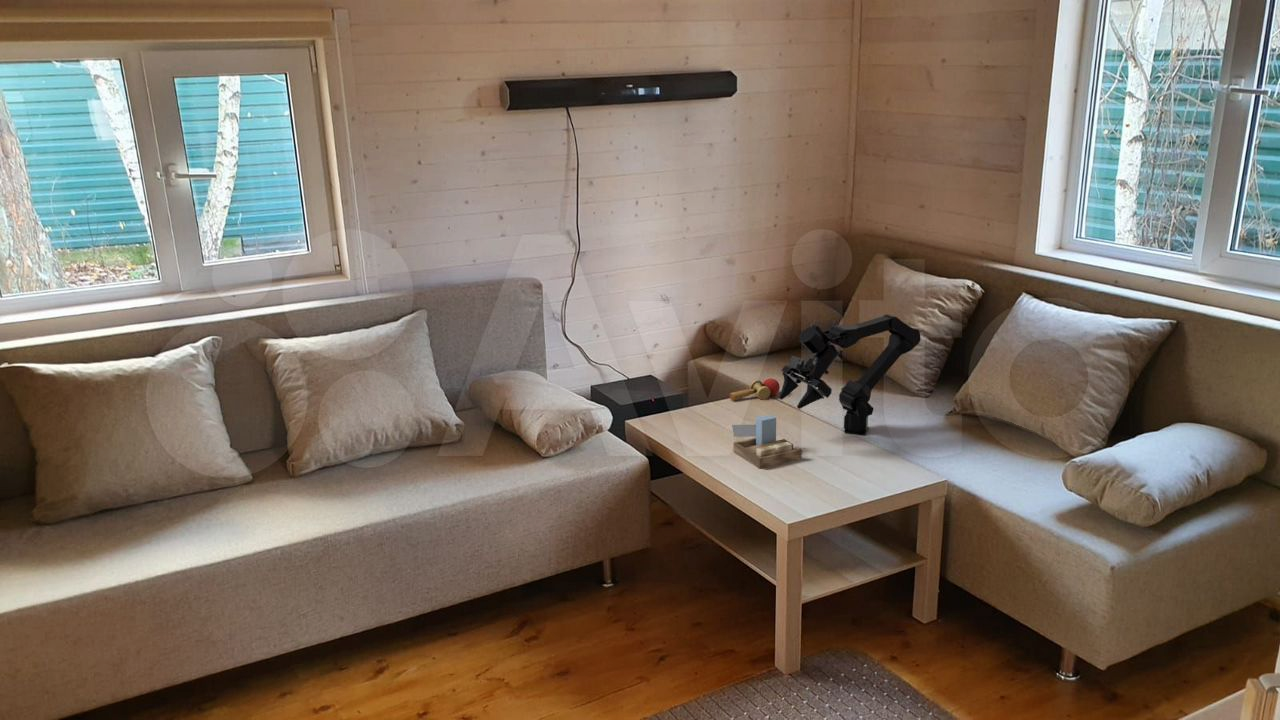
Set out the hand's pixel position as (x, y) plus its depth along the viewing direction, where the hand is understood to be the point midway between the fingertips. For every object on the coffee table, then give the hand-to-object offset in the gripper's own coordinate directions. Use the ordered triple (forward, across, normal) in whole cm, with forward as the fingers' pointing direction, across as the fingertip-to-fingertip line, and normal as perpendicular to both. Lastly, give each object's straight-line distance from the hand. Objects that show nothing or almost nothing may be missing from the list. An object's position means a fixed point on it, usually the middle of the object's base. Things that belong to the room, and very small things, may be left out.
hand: (788, 403), depth 284 cm
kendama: (-1, -42, +20) cm, 46 cm away
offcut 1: (+19, +9, 0) cm, 21 cm away
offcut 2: (+15, +9, +4) cm, 18 cm away
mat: (+12, -15, +7) cm, 21 cm away
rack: (+17, +4, +2) cm, 17 cm away
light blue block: (+15, 0, +4) cm, 15 cm away
